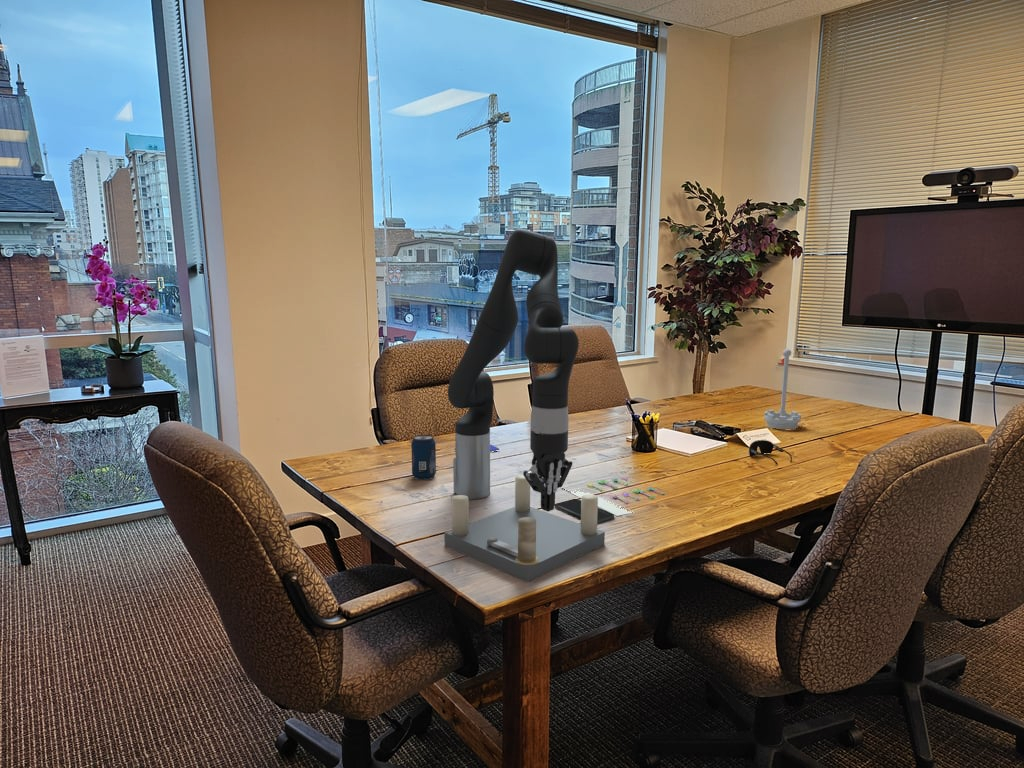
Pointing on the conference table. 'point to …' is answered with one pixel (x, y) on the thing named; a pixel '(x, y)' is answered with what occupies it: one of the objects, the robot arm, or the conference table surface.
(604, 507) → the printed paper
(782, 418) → the flag stand
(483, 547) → the grey square base plate
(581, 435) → the conference table surface
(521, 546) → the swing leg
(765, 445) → the sunglasses
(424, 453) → the soda can
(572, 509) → the phone
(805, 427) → the conference table surface
